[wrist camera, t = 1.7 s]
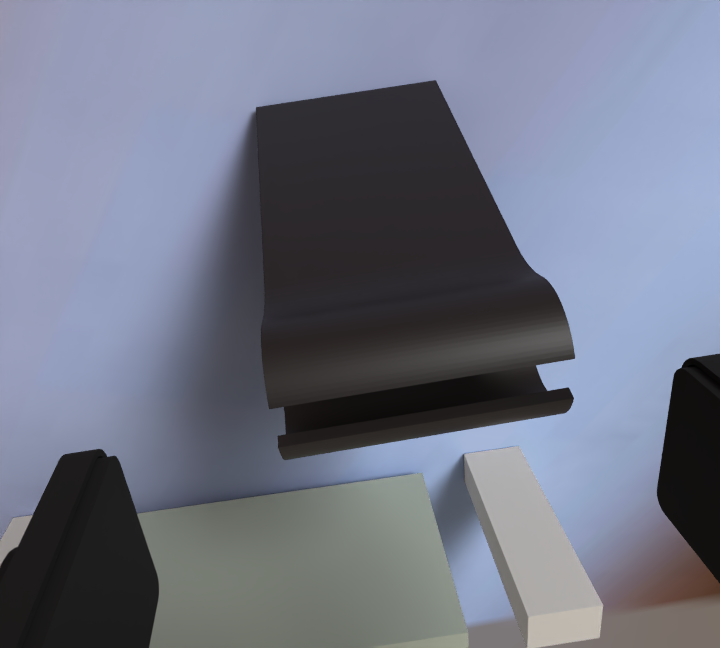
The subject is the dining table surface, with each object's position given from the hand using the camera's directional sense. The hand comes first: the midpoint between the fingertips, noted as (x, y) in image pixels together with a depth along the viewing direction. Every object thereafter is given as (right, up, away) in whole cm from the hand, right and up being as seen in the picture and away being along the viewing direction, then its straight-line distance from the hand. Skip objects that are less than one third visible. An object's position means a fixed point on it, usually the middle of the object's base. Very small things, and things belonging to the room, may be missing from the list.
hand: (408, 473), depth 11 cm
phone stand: (-1, +6, +13) cm, 14 cm away
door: (-6, -5, +17) cm, 19 cm away
